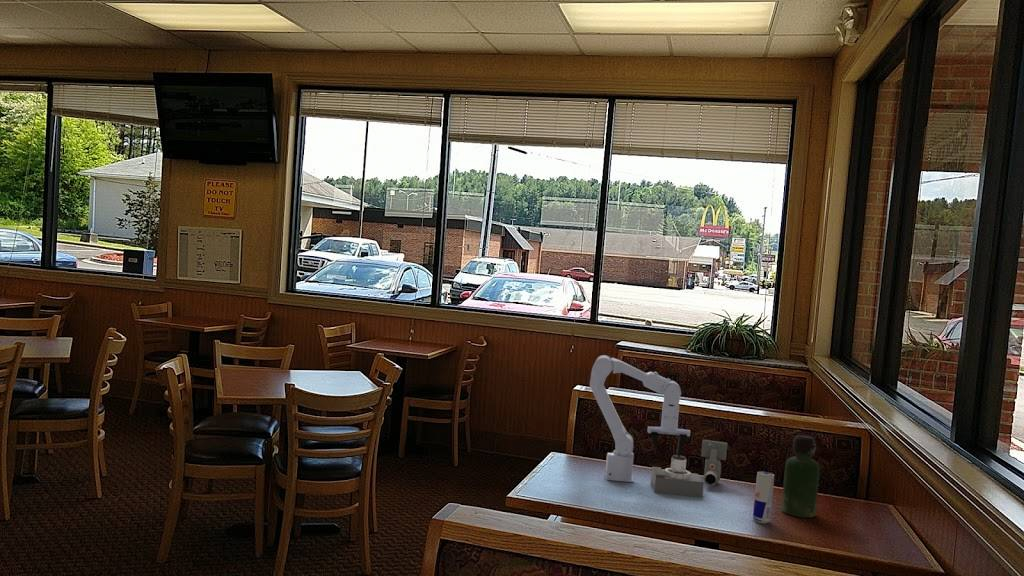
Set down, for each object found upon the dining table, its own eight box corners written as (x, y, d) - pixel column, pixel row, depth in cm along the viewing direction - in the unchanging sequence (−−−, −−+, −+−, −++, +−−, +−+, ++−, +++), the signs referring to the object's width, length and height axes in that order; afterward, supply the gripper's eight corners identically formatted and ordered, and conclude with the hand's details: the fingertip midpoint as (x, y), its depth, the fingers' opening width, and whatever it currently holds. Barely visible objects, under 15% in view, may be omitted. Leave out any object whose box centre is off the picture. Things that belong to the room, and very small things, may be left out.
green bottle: (780, 514, 257) (787, 436, 257) (781, 506, 267) (788, 431, 266) (815, 520, 254) (822, 441, 253) (815, 512, 264) (822, 436, 263)
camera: (696, 486, 283) (700, 444, 283) (699, 479, 294) (702, 438, 294) (722, 490, 281) (726, 448, 280) (723, 482, 292) (727, 441, 292)
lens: (670, 476, 274) (672, 457, 274) (669, 473, 279) (671, 454, 279) (685, 478, 273) (687, 459, 273) (684, 475, 278) (686, 455, 278)
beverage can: (757, 517, 252) (762, 470, 251) (772, 522, 248) (777, 474, 248) (749, 520, 248) (754, 472, 248) (764, 525, 245) (769, 476, 244)
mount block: (654, 492, 271) (656, 473, 271) (650, 483, 282) (652, 465, 282) (702, 497, 270) (704, 477, 270) (696, 488, 281) (698, 469, 281)
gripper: (650, 416, 279) (647, 455, 279) (692, 420, 278) (689, 459, 278) (648, 412, 286) (645, 450, 286) (689, 416, 285) (686, 454, 285)
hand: (666, 454), depth 283 cm, fingers open, 7 cm apart
